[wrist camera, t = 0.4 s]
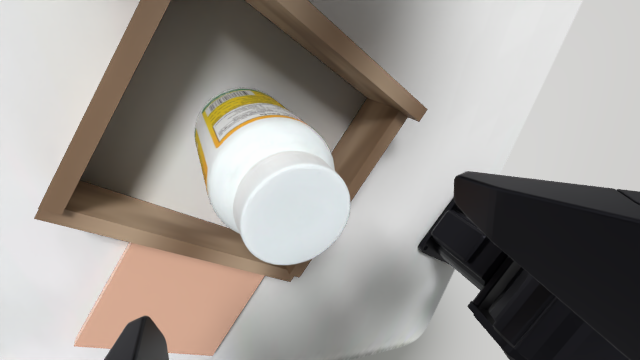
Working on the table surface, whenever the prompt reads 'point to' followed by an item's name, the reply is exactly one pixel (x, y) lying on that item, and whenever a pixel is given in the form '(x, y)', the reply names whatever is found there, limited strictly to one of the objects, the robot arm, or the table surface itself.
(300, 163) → the supplement bottle
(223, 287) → the terracotta tile
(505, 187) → the robot arm
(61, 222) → the brown wooden tray
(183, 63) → the table surface
